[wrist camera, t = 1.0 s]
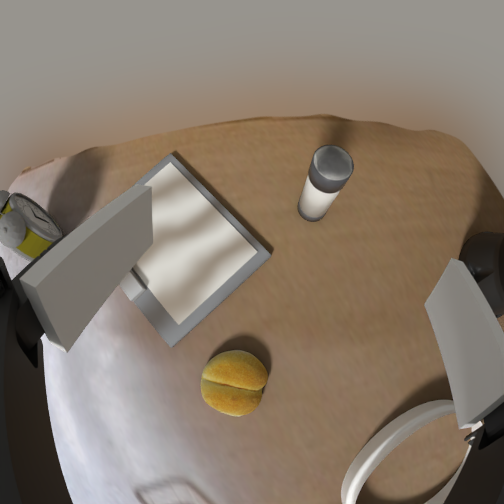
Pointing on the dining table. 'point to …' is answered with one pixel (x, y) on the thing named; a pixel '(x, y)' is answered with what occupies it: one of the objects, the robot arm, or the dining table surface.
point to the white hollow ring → (391, 439)
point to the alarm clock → (26, 226)
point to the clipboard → (188, 253)
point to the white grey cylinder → (324, 181)
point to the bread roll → (233, 382)
